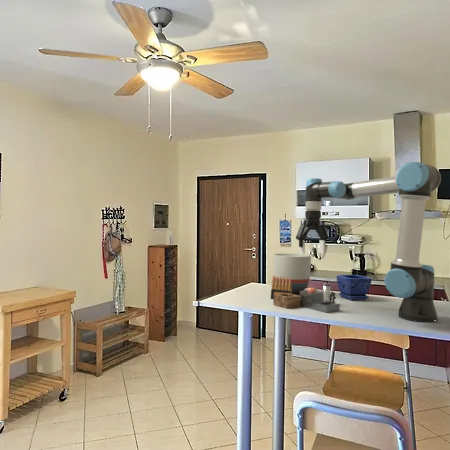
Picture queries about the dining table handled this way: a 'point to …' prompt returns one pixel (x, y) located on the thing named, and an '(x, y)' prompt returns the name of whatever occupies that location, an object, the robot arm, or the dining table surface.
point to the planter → (293, 270)
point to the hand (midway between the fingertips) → (312, 253)
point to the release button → (311, 290)
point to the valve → (331, 296)
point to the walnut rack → (287, 300)
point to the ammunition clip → (277, 287)
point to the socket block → (317, 302)
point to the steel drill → (326, 293)
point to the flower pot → (353, 286)
